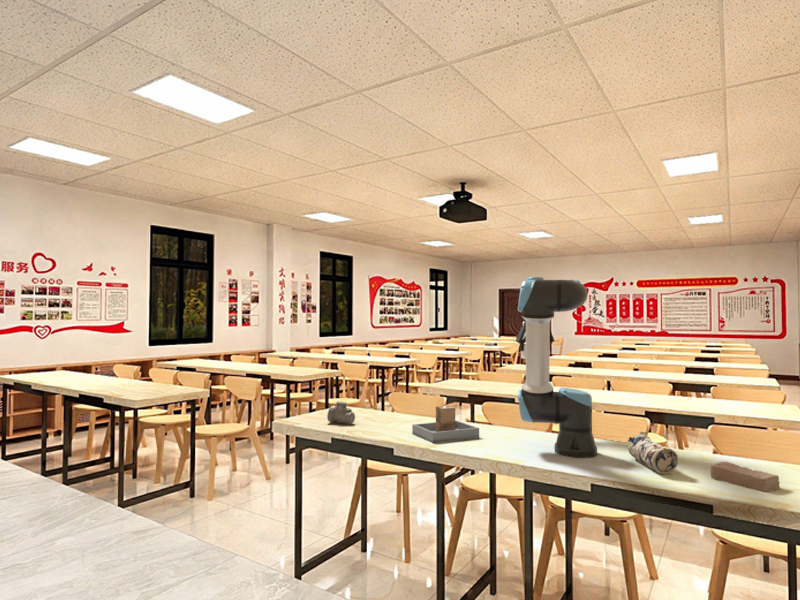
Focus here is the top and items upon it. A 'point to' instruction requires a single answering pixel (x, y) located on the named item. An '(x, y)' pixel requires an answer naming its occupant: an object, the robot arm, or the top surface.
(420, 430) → the tray
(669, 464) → the pencil case
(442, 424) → the bored block
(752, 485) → the brick
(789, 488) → the top surface
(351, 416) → the pipe fitting
